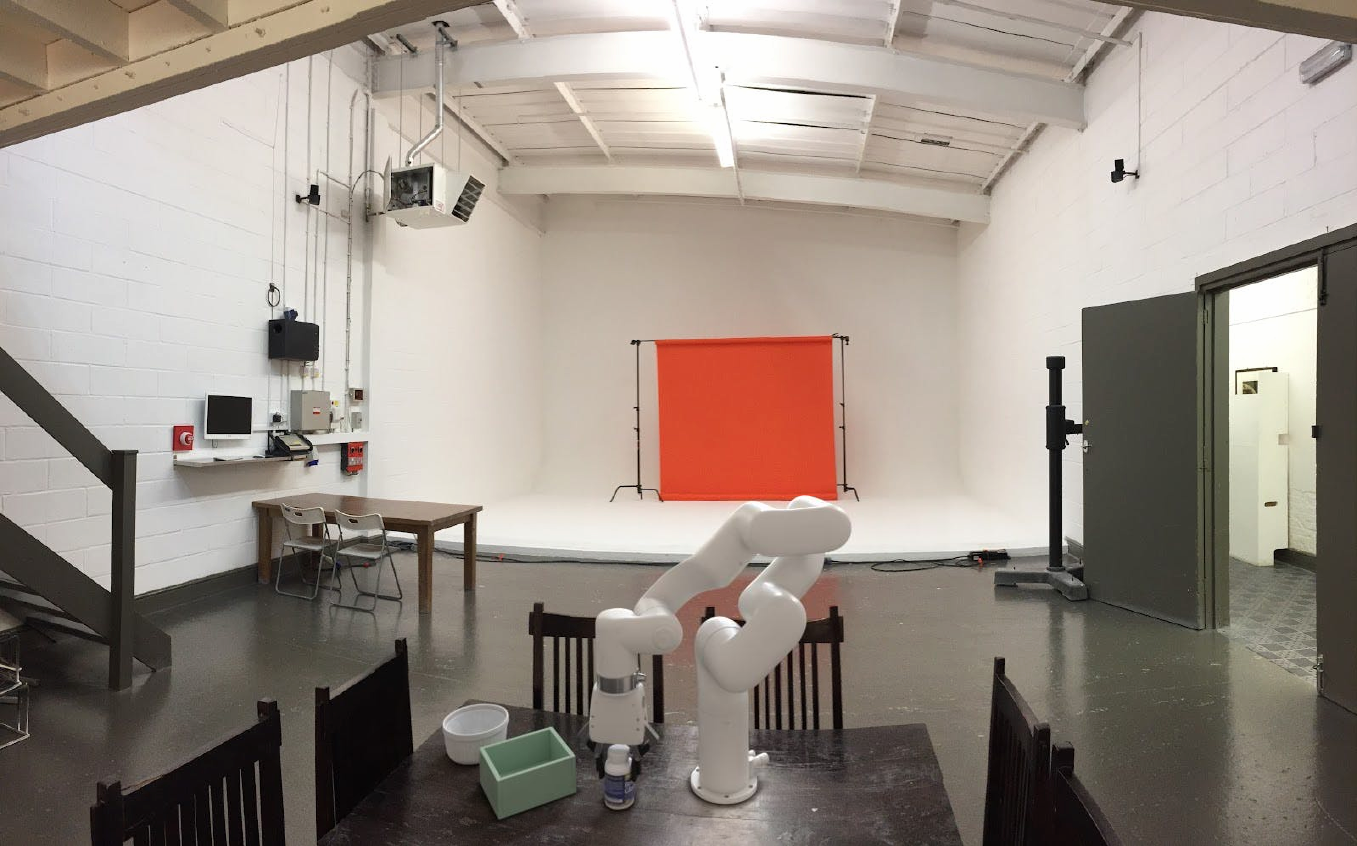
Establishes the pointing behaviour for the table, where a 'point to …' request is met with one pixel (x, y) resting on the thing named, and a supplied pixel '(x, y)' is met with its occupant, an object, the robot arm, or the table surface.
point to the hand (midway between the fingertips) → (619, 775)
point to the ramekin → (473, 731)
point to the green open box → (527, 771)
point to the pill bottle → (618, 777)
